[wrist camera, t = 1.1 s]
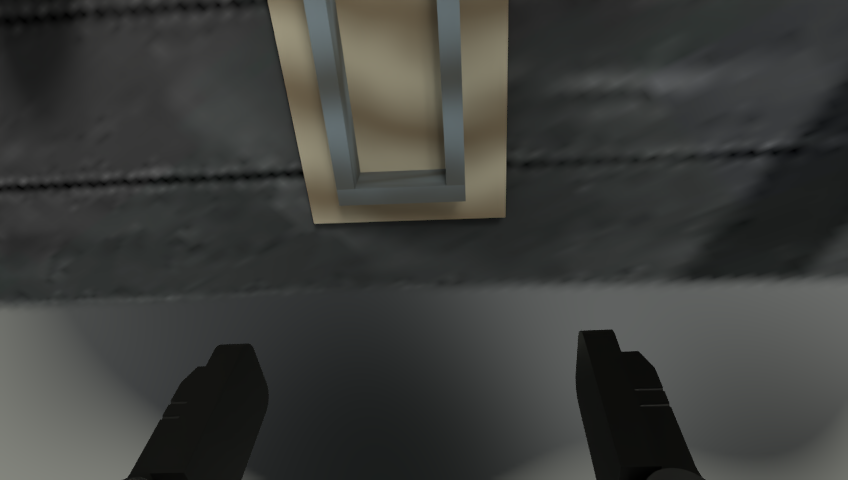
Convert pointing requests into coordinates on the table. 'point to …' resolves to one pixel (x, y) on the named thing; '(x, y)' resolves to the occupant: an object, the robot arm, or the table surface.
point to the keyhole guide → (397, 106)
